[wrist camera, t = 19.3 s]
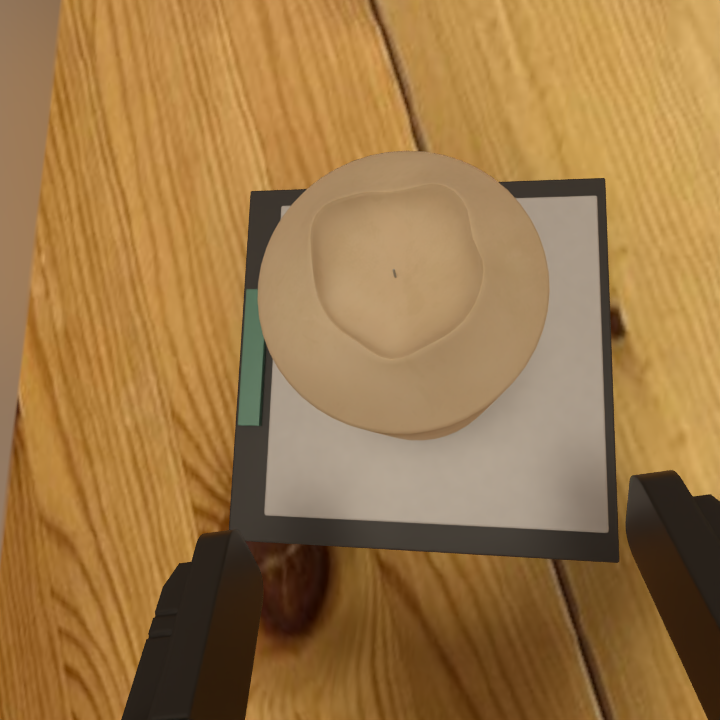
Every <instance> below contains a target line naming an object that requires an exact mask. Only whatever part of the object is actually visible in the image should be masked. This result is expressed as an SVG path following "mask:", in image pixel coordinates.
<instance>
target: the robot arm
mask: <svg viewBox="0 0 720 720" xmlns="http://www.w3.org/2000/svg"><path fill="white" fill-rule="evenodd" d="M626 534H627V539H628V543H629V546H630V550H631V552H632V555H633V557H634V559H635V562H636V564H637V566H638V568H639V570H640V572H641V575H642V577H643V579H644V581H645V583H646V585H647V588H648V590H649V592H650V594H651V596H652V599H653V601H654V603H655V605H656V607H657V609H658V612H659V614H660V616H661V618H662V620H663V622H664V625H665V627H666V629H667V631H668V633H669V636H670V638H671V640H672V642H673V644H674V646H675V649H676V651H677V653H678V655H679V657H680V659H681V662H682V664H683V666H684V668H685V670H686V673H687V675H688V677H689V679H690V681H691V683H692V686H693V688H694V690H695V692H696V694H697V696H698V699H699V701H700V703H701V705H702V707H703V710H704V712H705V714H706V716H707V718H708V720H720V501H718V500H717V499H716V498H715V497H713V496H712V495H711V494H710V495H702V496H695V497H692V495H691V493H690V492H689V490H688V489H687V487H686V485H685V484H684V482H683V481H682V479H681V478H680V476H679V475H678V474H677V473H676V472H675V471H673V470H669V471H662V472H654V473H647V474H640V475H633V476H631V478H630V483H629V493H628V503H627V514H626ZM262 603H263V580H262V575H261V572H260V569H259V567H258V565H257V563H256V561H255V559H254V557H253V555H252V554H251V552H250V550H249V548H248V546H247V544H246V542H245V540H244V538H243V536H242V534H241V533H240V531H239V530H237V529H234V530H227V531H219V532H212V533H205V534H202V535H201V536H200V537H199V539H198V541H197V544H196V547H195V551H194V554H193V558H192V562H187V563H179V565H178V566H177V567H176V569H175V570H174V572H173V573H172V575H171V576H170V578H169V579H168V580H167V582H166V583H165V585H164V586H163V589H162V592H161V595H160V598H159V601H158V604H157V608H156V611H155V618H153V620H152V624H151V627H150V630H149V633H148V634H149V638H148V639H147V640H146V643H145V646H144V649H143V652H142V656H141V659H140V662H139V665H138V668H137V672H136V675H135V678H134V681H133V684H132V687H131V691H130V694H129V697H128V700H127V703H126V707H125V710H124V713H123V716H122V719H121V720H245V716H246V709H247V702H248V696H249V689H250V682H251V676H252V669H253V663H254V656H255V649H256V643H257V636H258V629H259V623H260V616H261V609H262Z"/></svg>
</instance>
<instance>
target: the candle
mask: <svg viewBox="0 0 720 720" xmlns="http://www.w3.org/2000/svg"><path fill="white" fill-rule="evenodd" d="M549 293H550V288H549V271H548V265H547V260H546V255H545V251H544V248H543V245H542V243H541V240H540V237H539V234H538V232H537V230H536V228H535V226H534V224H533V222H532V220H531V219H530V217H529V216H528V214H527V213H526V211H525V210H524V208H523V207H522V206H521V204H520V203H519V202H518V201H517V200H516V199H515V197H514V196H513V195H512V194H511V193H510V192H509V191H508V190H507V189H506V188H505V187H503V186H502V185H501V184H500V183H499V182H497V181H496V180H495V179H494V178H492V177H491V176H489V175H488V174H486V173H484V172H483V171H481V170H480V169H478V168H476V167H474V166H472V165H469V164H467V163H465V162H463V161H461V160H457V159H454V158H451V157H448V156H445V155H440V154H435V153H429V152H419V151H397V152H387V153H381V154H376V155H371V156H368V157H364V158H361V159H358V160H355V161H352V162H350V163H348V164H346V165H343V166H341V167H339V168H337V169H335V170H334V171H332V172H330V173H329V174H327V175H325V176H324V177H322V178H321V179H319V180H318V181H317V182H315V183H314V184H313V185H312V186H310V187H309V188H308V189H307V190H306V191H305V192H304V193H303V194H302V195H301V196H300V197H299V198H298V199H297V200H296V201H295V202H294V203H293V204H292V205H291V207H290V208H289V209H288V210H287V212H286V213H285V214H284V215H283V217H282V219H281V220H280V222H279V223H278V225H277V227H276V228H275V230H274V232H273V234H272V236H271V239H270V241H269V243H268V245H267V248H266V251H265V254H264V257H263V261H262V264H261V269H260V275H259V281H258V311H259V320H260V324H261V328H262V333H263V337H264V339H265V342H266V345H267V347H268V350H269V353H270V355H271V356H272V358H273V360H274V362H275V364H276V366H277V368H278V369H279V371H280V372H281V373H282V375H283V376H284V377H285V379H286V380H287V382H288V383H289V384H290V385H291V386H292V387H293V388H294V389H295V390H296V391H297V392H298V394H299V395H300V396H301V397H302V398H304V399H305V400H306V401H308V402H309V403H310V404H311V405H313V406H314V407H315V408H316V409H318V410H320V411H321V412H323V413H325V414H326V415H328V416H330V417H331V418H333V419H336V420H338V421H340V422H343V423H345V424H347V425H350V426H353V427H356V428H360V429H364V430H367V431H371V432H375V433H379V434H383V435H386V436H390V437H394V438H398V439H405V440H431V439H437V438H440V437H444V436H447V435H450V434H452V433H455V432H457V431H459V430H460V429H462V428H464V427H466V426H467V425H469V424H470V423H471V422H473V421H474V420H475V419H476V418H478V417H479V416H480V415H481V414H482V413H483V412H484V411H485V410H486V409H487V408H488V407H489V406H490V405H491V404H492V403H493V402H494V401H495V400H496V399H497V398H498V397H499V396H500V395H501V394H502V393H503V392H504V391H505V390H506V389H507V388H508V387H509V386H510V385H511V384H512V383H513V382H514V381H515V380H516V379H517V377H518V376H519V375H520V373H521V372H522V371H523V369H524V368H525V367H526V365H527V363H528V362H529V360H530V358H531V356H532V355H533V353H534V351H535V349H536V347H537V345H538V342H539V339H540V337H541V334H542V332H543V329H544V325H545V320H546V316H547V312H548V304H549Z"/></svg>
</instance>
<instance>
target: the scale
mask: <svg viewBox="0 0 720 720" xmlns="http://www.w3.org/2000/svg"><path fill="white" fill-rule="evenodd" d="M499 183H500V184H501V185H502V186H503V187H505V188H506V189H507V190H508V191H509V192H510V193H511V194H512V195H513V196H514V197H515V199H516V200H517V201H518V202H519V203H520V204H521V206H522V207H523V208H524V210H525V211H526V213H527V214H528V216H529V217H530V219H531V220H532V222H533V224H534V226H535V228H536V230H537V232H538V234H539V237H540V240H541V243H542V245H543V248H544V251H545V255H546V260H547V265H548V271H549V288H550V293H549V304H548V312H547V316H546V320H545V325H544V329H543V332H542V334H541V337H540V339H539V342H538V345H537V347H536V349H535V351H534V353H533V355H532V356H531V358H530V360H529V362H528V363H527V365H526V367H525V368H524V369H523V371H522V372H521V373H520V375H519V376H518V377H517V379H516V380H515V381H514V382H513V383H512V384H511V385H510V386H509V387H508V388H507V389H506V390H505V391H504V392H503V393H502V394H501V395H500V396H499V397H498V398H497V399H496V400H495V401H494V402H493V403H492V404H491V405H490V406H489V407H488V408H487V409H486V410H485V411H484V412H483V413H482V414H481V415H480V416H479V417H478V418H476V419H475V420H474V421H473V422H471V423H470V424H469V425H467V426H466V427H464V428H462V429H460V430H459V431H457V432H455V433H452V434H450V435H447V436H444V437H440V438H437V439H431V440H405V439H398V438H394V437H390V436H386V435H383V434H379V433H375V432H371V431H367V430H364V429H360V428H356V427H353V426H350V425H347V424H345V423H343V422H340V421H338V420H336V419H333V418H331V417H330V416H328V415H326V414H325V413H323V412H321V411H320V410H318V409H316V408H315V407H314V406H313V405H311V404H310V403H309V402H308V401H306V400H305V399H304V398H302V397H301V396H300V395H299V394H298V392H297V391H296V390H295V389H294V388H293V387H292V386H291V385H290V384H289V383H288V382H287V380H286V379H285V377H284V376H283V375H282V373H281V372H280V371H279V369H278V368H277V366H276V364H275V362H274V360H273V358H272V356H271V355H270V353H269V350H268V347H267V345H266V342H265V339H264V337H263V333H262V328H261V324H260V320H259V311H258V281H259V275H260V269H261V264H262V261H263V257H264V254H265V251H266V248H267V245H268V243H269V241H270V239H271V236H272V234H273V232H274V230H275V228H276V227H277V225H278V223H279V222H280V220H281V219H282V217H283V215H284V214H285V213H286V212H287V210H288V209H289V208H290V207H291V205H292V204H293V203H294V202H295V201H296V200H297V199H298V198H299V197H300V196H301V195H302V194H303V193H304V192H305V191H306V190H307V189H299V190H272V191H251V196H250V212H249V227H248V243H247V258H246V274H245V289H244V305H243V320H242V336H241V351H240V367H239V382H238V398H237V413H236V429H235V444H234V460H233V475H232V490H231V506H230V521H229V530H234V529H237V530H239V531H240V533H241V534H242V536H243V538H244V540H245V541H254V542H271V543H288V544H305V545H322V546H339V547H356V548H373V549H390V550H407V551H424V552H441V553H459V554H476V555H493V556H510V557H527V558H544V559H561V560H578V561H595V562H612V563H618V562H619V539H618V512H617V485H616V458H615V431H614V404H613V377H612V350H611V323H610V296H609V269H608V242H607V215H606V188H605V178H594V179H568V180H541V181H514V182H499Z"/></svg>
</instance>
